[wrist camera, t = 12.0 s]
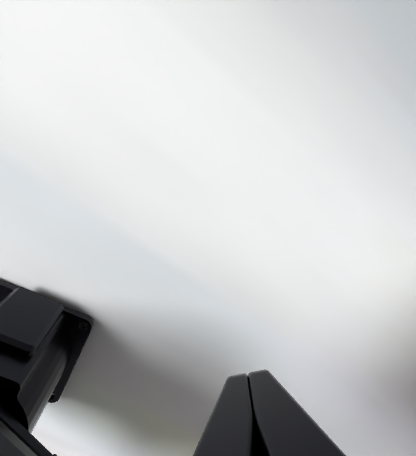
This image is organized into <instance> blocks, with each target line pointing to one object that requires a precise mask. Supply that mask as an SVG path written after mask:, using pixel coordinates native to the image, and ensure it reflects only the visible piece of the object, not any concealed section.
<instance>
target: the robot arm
mask: <svg viewBox="0 0 416 456" xmlns="http://www.w3.org/2000/svg"><path fill="white" fill-rule="evenodd" d="M81 323H85V324H87V326H83V325H81ZM93 324H94V322H93V320H92V318H91V317H89V316H87V315H85V314H82V313H80V312H77V311H75V310H73V309H70V308H68V307H65V306H63V305H61V304H60V303H58V302H55V301H53V300H50V299H48V298H46V297H43V296H41V295H38V294H36V293H34V292H31V291H29V290H26V289H24V288H21V287H20V288H19V287H17V286H14V285H12V284H9V283H7V282H5V281H2V280H0V456H57V455H56V454H53V455H52V454H51V453H50V452H49V451H48V450H47V449H46V448H45V447H44V446H43V445H42V444H41V443H40V442H39V441H38V440H37V439H36V438H35V437H34V436H33V435H32V434H31V433H32V431H33V429H34V427H35V425H36V423H37V421H38V419H39V417H40V416H41V414H42V412H43V410H44V408H45V406H46V404H47V402H50V403H54V402H56V401H58V399H59V398H60V396H61V394H62V391H63V389H64V387H65V385H66V383H67V381H68V379H69V376H70V374H71V372H72V370H73V368H74V366H75V364H76V361H77V359H78V357H79V355H80V353H81V351H82V349H83V346H84V344H85V342H86V340H87V338H88V336H89V334H90V332H91V329H92V327H93ZM52 393H53V394H54V395H52ZM193 456H346V455H345V454H344V453H343V452H342V451H341V450H340V449H339V448H338V447H337V445H336V444H335V443H334V442H333V441H332V440H331V439H330V438H329V437H328V436H327V434H326V433H325V432H324V431H323V430H322V429H321V428H320V427H319V426H318V425H317V424H316V422H315V421H314V420H313V419H312V418H311V417H310V416H309V415H308V414H307V413H306V411H305V410H304V409H303V408H302V407H301V406H300V405H299V404H298V403H297V402H296V401H295V399H294V398H293V397H292V396H291V395H290V394H289V393H288V392H287V391H286V390H285V388H284V387H283V386H282V385H281V384H280V383H279V382H278V381H277V380H276V379H275V378H274V376H273V375H272V374H271V373H270V372H269V371H268V370H260V371H255V372H251V373H249V375H247V374H239V375H234V376H230V377H228V378H227V380H226V383H225V385H224V387H223V389H222V392H221V394H220V396H219V398H218V401H217V403H216V405H215V407H214V410H213V412H212V414H211V416H210V419H209V421H208V423H207V425H206V428H205V430H204V432H203V434H202V437H201V439H200V441H199V443H198V446H197V448H196V450H195V452H194V455H193Z"/></svg>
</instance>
